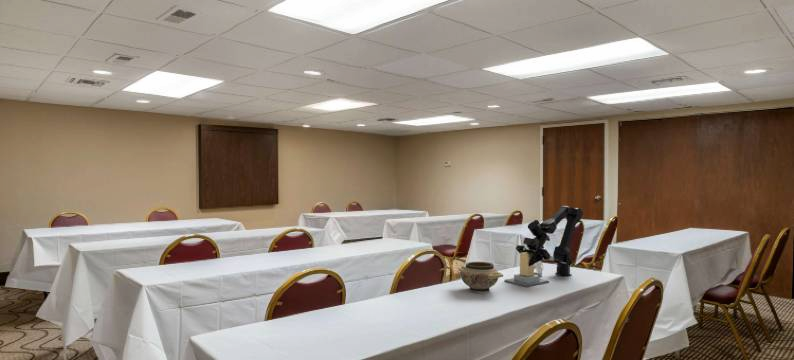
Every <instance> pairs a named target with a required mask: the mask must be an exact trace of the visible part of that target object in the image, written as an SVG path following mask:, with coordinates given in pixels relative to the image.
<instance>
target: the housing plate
mask: <svg viewBox="0 0 794 360" xmlns="http://www.w3.org/2000/svg"><path fill="white" fill-rule="evenodd" d="M504 283H508V284H513V285H515V286H520V287H524V288H529V287H534V286H538V285H543V284H548V283H550V280H548V279H543V278H540V275H538V274H534V276H533V277H523V276H520V273H518V274H517V273H516V274H514V275H513V277H512V278H507V279H504Z"/></svg>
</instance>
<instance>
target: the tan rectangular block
mask: <svg viewBox="0 0 794 360" xmlns="http://www.w3.org/2000/svg"><path fill="white" fill-rule="evenodd" d="M533 254H534V253H528V252H524V253H520V254H519V274H520V276H523V277H533V276H534V275H535V269H534V264H533V265H532V266H529V263H530V261H531V259H532V257H533Z"/></svg>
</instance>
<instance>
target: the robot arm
mask: <svg viewBox="0 0 794 360" xmlns="http://www.w3.org/2000/svg"><path fill="white" fill-rule="evenodd" d="M583 215H584V212H583V210H582V209H581V208H579V207H571V206H568V205H562V206H560V207H559V209H558V210H556V212H555V213H554V214H553V215H552V216H551V217H550V218H548V219H545V220H543V221H542V222H541V223H540V221H539V219H538V220H537V219H534V220H533V221H531V222H530V223H528V225H527V229H528V230H529V232H530V234H532V235H533V236H534V237H533V238H531V237H524V239H523V245H521V244H518V245H516V247H515V249H516V251H517V253H518V254H519V255H520V253H524V252H528V253H534V254H533V257H532V259H531V261H530V263H529V266H532V265H533V264H535V263H537V262H539V261H541V262H542V261H543V260H545V261H549V260H550V258H551V253H549V251H548V250H547V249H546V248H545V246H544V245H545V244H546V242H548V241H549V242H550V241H551V239H550V236H549V235H553V234H554V233H555V232H556V230H557V228H558V225H559V224H560V223H561V222H562V221H563V220H564V219H566V224H565V227H564V231H563V234H562V236H561V240H560V244H559V245H558V246H555V247H554V249H553V252H552V253H553V254H552V256H553V262H554V264H556V272H555V273H554V274H555V275H558V276H561V277H567V276H572V273H571V266H572V265H574V260H573V258H572V257H571V251H570V250H571V249H570V246H571V243H572V238H573V235H574V233H575V229H576V226H577V224H578V223H579V222H580V221H581V219H582V217H583ZM525 245H526V247H525Z"/></svg>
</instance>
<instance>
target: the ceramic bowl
mask: <svg viewBox="0 0 794 360" xmlns="http://www.w3.org/2000/svg"><path fill="white" fill-rule="evenodd" d="M494 266H495V265H494V264H493V262H488V261H469V262H466V263H465V265H462V266H458V268H457V269H458V271H459V272H460V278H461V280H462V282H463V283H464V284H465V285H466V286H467V287H469V291H471V292H473V293H478V294H479V293H481V294H482V293H488V292H490V288H492V287H494V286H495V285H496V284H497V283H498V281H499V279H500V278H503V277H504V274H503V273H502V272H499V271H498V270H497V269H495V268H494Z"/></svg>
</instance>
